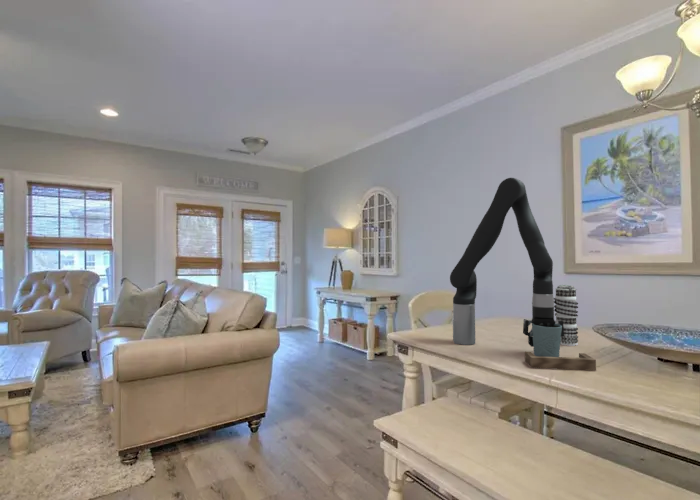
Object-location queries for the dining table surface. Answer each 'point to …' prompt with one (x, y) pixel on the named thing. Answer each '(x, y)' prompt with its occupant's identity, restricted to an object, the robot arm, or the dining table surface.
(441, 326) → the dining table surface
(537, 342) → the teal cup
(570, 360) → the walnut rail
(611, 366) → the dining table surface
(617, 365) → the dining table surface
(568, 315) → the decorative candle
